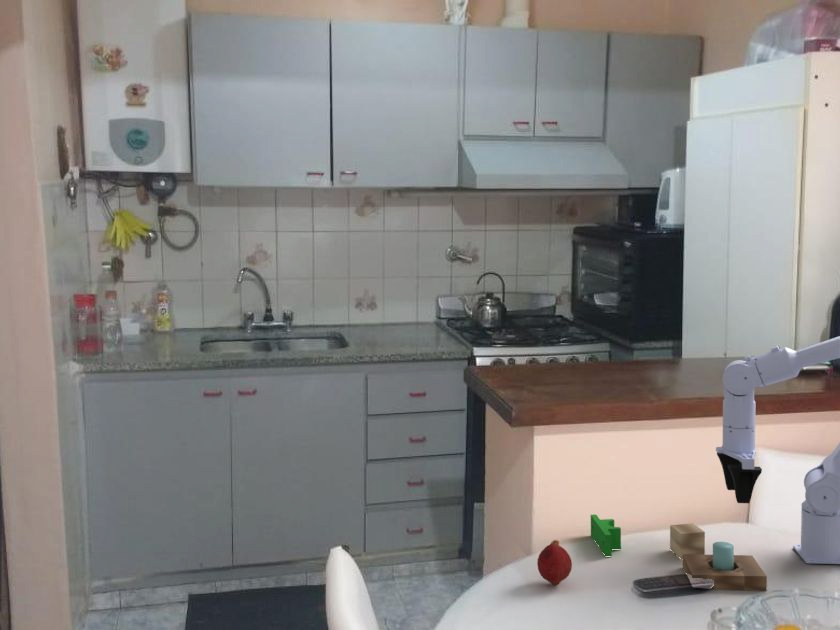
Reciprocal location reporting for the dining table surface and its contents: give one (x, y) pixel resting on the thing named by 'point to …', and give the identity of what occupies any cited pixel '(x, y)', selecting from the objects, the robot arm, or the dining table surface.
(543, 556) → the onion
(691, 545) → the wooden cube block
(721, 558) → the teal dowel
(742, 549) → the dining table surface
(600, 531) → the green pronged block
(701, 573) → the socket block
